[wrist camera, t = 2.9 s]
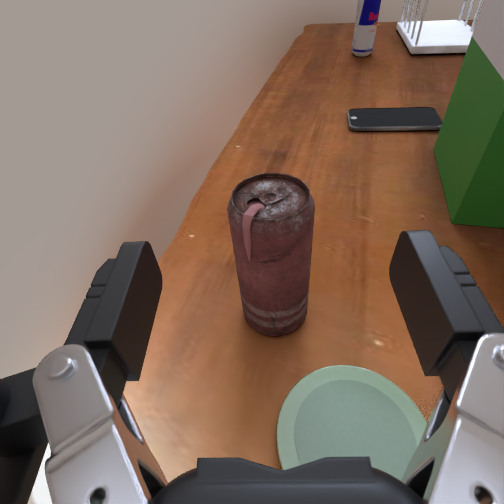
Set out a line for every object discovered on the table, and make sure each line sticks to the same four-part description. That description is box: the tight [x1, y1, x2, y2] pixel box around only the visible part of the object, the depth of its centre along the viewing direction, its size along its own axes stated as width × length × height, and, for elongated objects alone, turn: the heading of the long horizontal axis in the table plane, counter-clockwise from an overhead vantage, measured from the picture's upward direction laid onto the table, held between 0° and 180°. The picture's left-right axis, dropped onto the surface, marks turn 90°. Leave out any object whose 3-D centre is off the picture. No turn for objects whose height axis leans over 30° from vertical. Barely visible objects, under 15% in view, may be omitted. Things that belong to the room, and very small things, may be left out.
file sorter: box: [396, 0, 483, 54], centre depth 84 cm, size 25×17×16 cm
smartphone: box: [347, 107, 443, 131], centre depth 59 cm, size 8×1×15 cm
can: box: [227, 173, 315, 336], centre depth 28 cm, size 6×6×14 cm
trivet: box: [277, 365, 427, 481], centre depth 24 cm, size 11×11×1 cm
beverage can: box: [352, 0, 381, 56], centre depth 80 cm, size 5×5×15 cm
